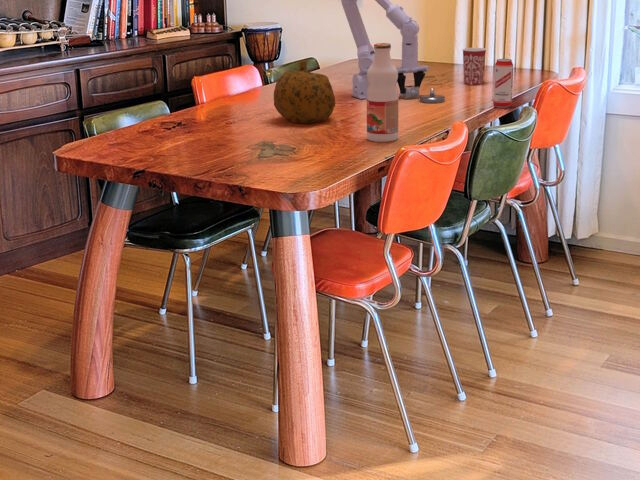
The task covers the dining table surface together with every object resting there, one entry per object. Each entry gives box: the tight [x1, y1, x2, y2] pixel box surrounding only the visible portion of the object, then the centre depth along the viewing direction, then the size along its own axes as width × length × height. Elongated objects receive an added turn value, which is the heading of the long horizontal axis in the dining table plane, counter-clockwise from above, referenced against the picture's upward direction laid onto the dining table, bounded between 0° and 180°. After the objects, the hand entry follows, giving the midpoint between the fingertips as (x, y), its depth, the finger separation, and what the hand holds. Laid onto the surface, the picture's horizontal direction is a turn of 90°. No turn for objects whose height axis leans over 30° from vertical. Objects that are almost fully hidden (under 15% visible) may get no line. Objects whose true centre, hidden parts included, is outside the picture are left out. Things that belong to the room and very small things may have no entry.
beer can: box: [492, 58, 514, 109], centre depth 312 cm, size 6×6×16 cm
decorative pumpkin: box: [273, 60, 336, 125], centre depth 299 cm, size 20×21×20 cm
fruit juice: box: [366, 42, 400, 143], centre depth 269 cm, size 9×9×28 cm
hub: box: [419, 87, 446, 104], centre depth 328 cm, size 9×9×4 cm
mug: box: [462, 47, 487, 86], centre depth 359 cm, size 13×9×14 cm
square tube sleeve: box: [399, 84, 420, 98], centre depth 335 cm, size 5×5×4 cm
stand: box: [399, 95, 420, 100], centre depth 335 cm, size 7×7×3 cm
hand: (409, 92), depth 335 cm, fingers closed on square tube sleeve, 5 cm apart
